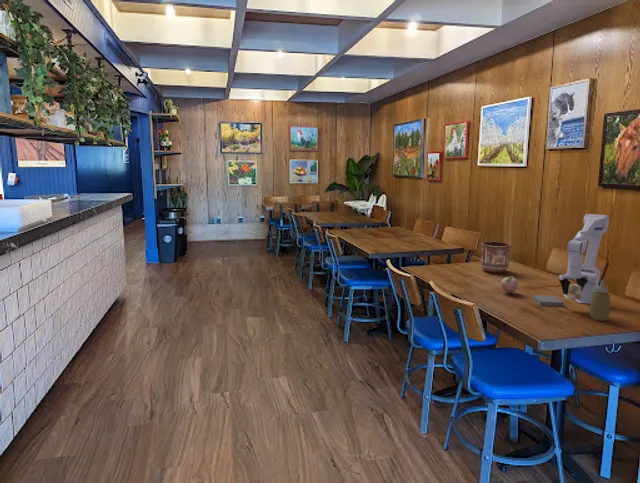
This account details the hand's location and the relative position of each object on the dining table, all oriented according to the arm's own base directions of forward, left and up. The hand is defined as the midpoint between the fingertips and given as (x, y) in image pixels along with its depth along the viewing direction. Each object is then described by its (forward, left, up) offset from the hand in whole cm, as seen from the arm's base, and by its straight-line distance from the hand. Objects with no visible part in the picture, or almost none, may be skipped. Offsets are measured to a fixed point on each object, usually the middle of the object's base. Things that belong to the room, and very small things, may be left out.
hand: (572, 293), depth 218 cm
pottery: (+18, -74, -8) cm, 77 cm away
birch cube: (0, 0, -2) cm, 2 cm away
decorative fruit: (+22, -24, -8) cm, 33 cm away
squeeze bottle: (-7, +13, -8) cm, 17 cm away
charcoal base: (+7, -10, -8) cm, 15 cm away
